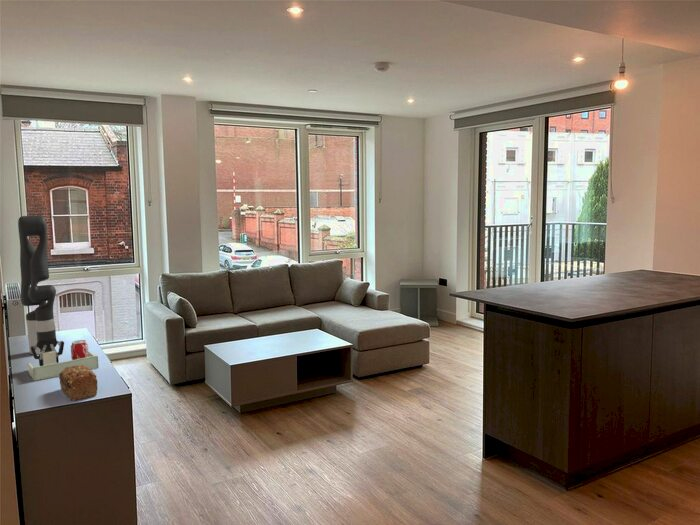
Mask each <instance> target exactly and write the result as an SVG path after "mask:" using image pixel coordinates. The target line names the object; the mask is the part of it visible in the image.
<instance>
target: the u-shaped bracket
mask: <svg viewBox="0 0 700 525" xmlns="http://www.w3.org/2000/svg"><path fill="white" fill-rule="evenodd" d="M88 352H89V357H86V358H81V359H76V360H72V359H71V360H66V361H61V362H59V363H54V364H49V365H44V366H40V365H39V366H33V364H32V363H31V362H30V361H29V362H27V368H28V375H29V376H30V377H31V378H32V380H33V381H34V382H36V381H41V380H45V379H51V378H56V377H59V374H60V372H61V371H63V370H64V369H65V368H67V367H71V366H79V365H84V366H87V367H88V369H90V370H95V369H99V368H100V367H99V357H98V355H96V354H94V352H92V351H89V350H88ZM40 379H41V380H40Z"/></svg>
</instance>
